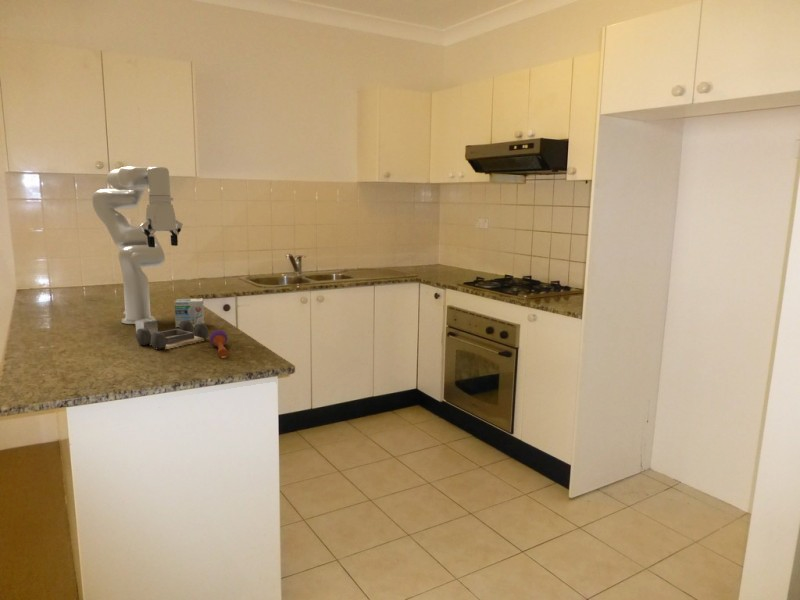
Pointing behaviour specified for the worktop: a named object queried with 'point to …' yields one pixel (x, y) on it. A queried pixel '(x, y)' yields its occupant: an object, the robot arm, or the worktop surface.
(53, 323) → the worktop surface
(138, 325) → the grey cube
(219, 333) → the purple maraca
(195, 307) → the light bulb box
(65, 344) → the worktop surface
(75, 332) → the worktop surface
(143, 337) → the chassis board
